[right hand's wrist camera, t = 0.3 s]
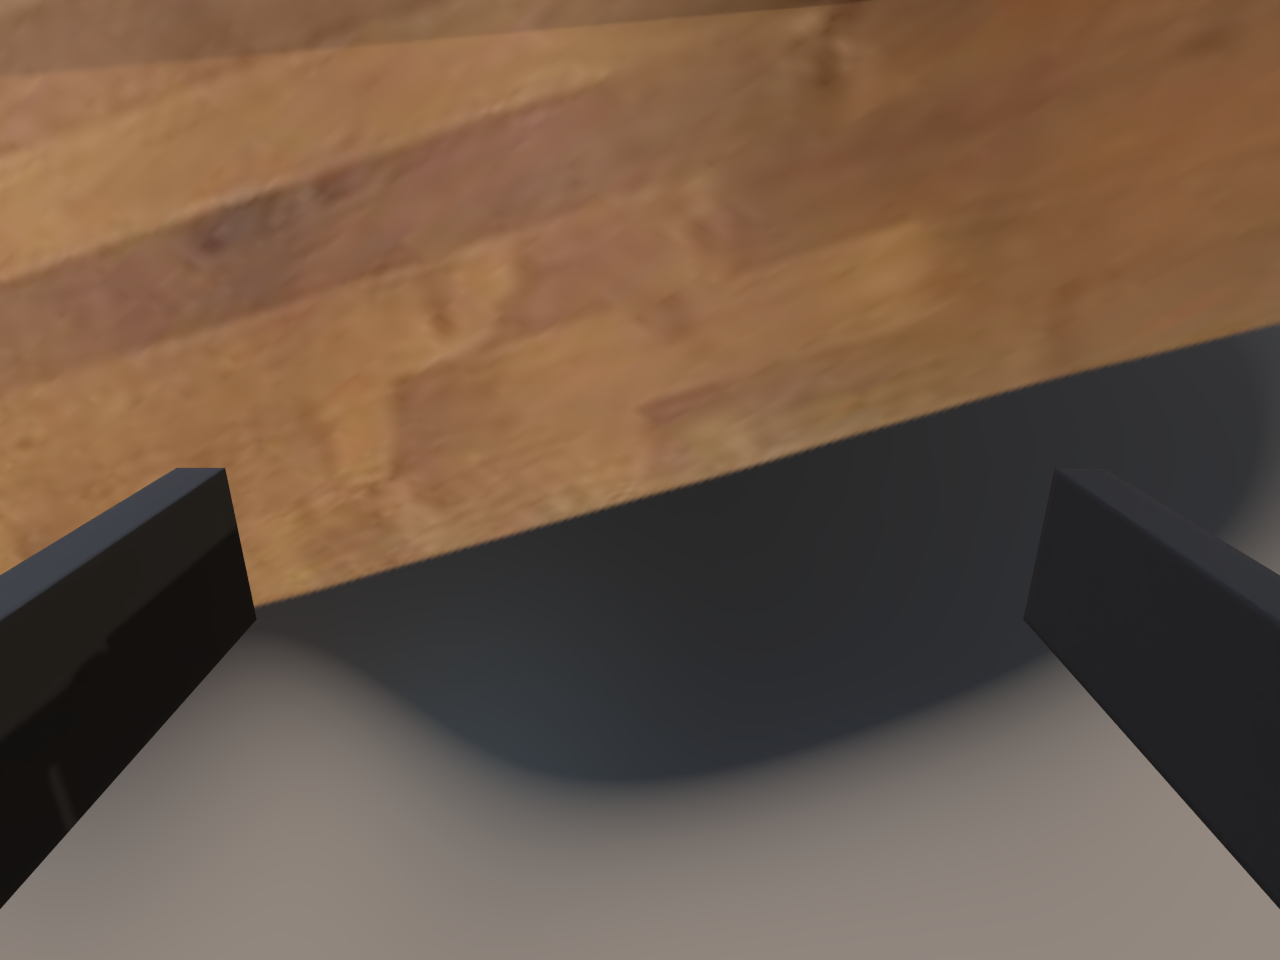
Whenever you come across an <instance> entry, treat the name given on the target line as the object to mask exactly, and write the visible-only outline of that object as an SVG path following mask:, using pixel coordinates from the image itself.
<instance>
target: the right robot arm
mask: <svg viewBox="0 0 1280 960" xmlns="http://www.w3.org/2000/svg"><path fill="white" fill-rule="evenodd" d="M255 620H256V615H255V610H254V605H253V600H252V596H251V591H250V586H249V581H248V576H247V571H246V567H245V562H244V557H243V552H242V547H241V543H240V538H239V533H238V528H237V523H236V518H235V514H234V509H233V504H232V499H231V494H230V490H229V485H228V480H227V475H226V470H225V468H176V469H174V470H173V471H171V472H169V473H168V474H166V475H164V476H163V477H161V478H159V479H158V480H156V481H155V482H153V483H151V484H150V485H148V486H146V487H145V488H143V489H141V490H140V491H138V492H137V493H135V494H133V495H132V496H130V497H128V498H127V499H125V500H123V501H122V502H120V503H118V504H117V505H115V506H114V507H112V508H110V509H109V510H107V511H105V512H104V513H102V514H100V515H99V516H97V517H95V518H94V519H92V520H91V521H89V522H87V523H86V524H84V525H82V526H81V527H79V528H77V529H76V530H74V531H72V532H71V533H69V534H68V535H66V536H64V537H63V538H61V539H59V540H58V541H56V542H54V543H53V544H51V545H50V546H48V547H46V548H45V549H43V550H41V551H40V552H38V553H36V554H35V555H33V556H31V557H30V558H28V559H27V560H25V561H23V562H22V563H20V564H18V565H17V566H15V567H13V568H12V569H10V570H8V571H7V572H5V573H4V574H2V575H0V909H1V908H2V906H3V905H4V904H5V903H6V902H7V901H8V900H9V898H10V897H11V896H12V895H13V894H14V893H15V892H16V891H17V889H18V888H19V887H20V886H21V885H22V884H23V883H24V882H25V880H26V879H27V878H28V877H29V876H30V875H31V874H32V873H33V871H34V870H35V869H36V868H37V867H38V866H39V865H40V863H41V862H42V861H43V860H44V859H45V858H46V857H47V855H48V854H49V853H50V852H51V851H52V850H53V849H54V848H55V846H56V845H57V844H58V843H59V842H60V841H61V840H62V839H63V837H64V836H65V835H66V834H67V833H68V832H69V831H70V830H71V828H72V827H73V826H74V825H75V824H76V823H77V822H78V821H79V819H80V818H81V817H82V816H83V815H84V814H85V813H86V811H87V810H88V809H89V808H90V807H91V806H92V805H93V803H94V802H95V801H96V800H97V799H98V798H99V797H100V796H101V795H102V793H103V792H104V791H105V790H106V789H107V788H108V787H109V785H110V784H111V783H112V782H113V781H114V780H115V779H116V778H117V776H118V775H119V774H120V773H121V772H122V771H123V770H124V768H125V767H126V766H127V765H128V764H129V763H130V762H131V761H132V759H133V758H134V757H135V756H136V755H137V754H138V753H139V752H140V750H141V749H142V748H143V747H144V746H145V745H146V744H147V743H148V741H149V740H150V739H151V738H152V737H153V736H154V735H155V733H156V732H157V731H158V730H159V729H160V728H161V727H162V725H163V724H164V723H165V722H166V721H167V720H168V719H169V718H170V717H171V715H172V714H173V713H174V712H175V711H176V710H177V708H178V707H179V706H180V705H181V704H182V703H183V702H184V701H185V700H186V698H187V697H188V696H189V695H190V694H191V693H192V692H193V690H194V689H195V688H196V687H197V686H198V685H199V684H200V683H201V681H202V680H203V679H204V678H205V677H206V676H207V675H208V674H209V672H210V671H211V670H212V669H213V668H214V667H215V666H216V665H217V663H218V662H219V661H220V660H221V659H222V658H223V657H224V655H225V654H226V653H227V652H228V651H229V650H230V649H231V648H232V646H233V645H234V644H235V643H236V642H237V641H238V640H239V639H240V637H241V636H242V635H243V634H244V633H245V632H246V631H247V629H248V628H249V627H250V626H251V625H252V624H253V623H254V622H255ZM1024 620H1025V622H1026V623H1027V624H1028V625H1029V626H1030V627H1031V628H1032V629H1033V631H1034V632H1035V633H1036V634H1037V635H1038V636H1039V637H1040V639H1041V640H1042V641H1043V642H1044V643H1045V644H1046V645H1047V646H1048V648H1049V649H1050V650H1051V651H1052V652H1053V653H1054V654H1055V655H1056V657H1057V658H1058V659H1059V660H1060V661H1061V662H1062V663H1063V665H1064V666H1065V667H1066V668H1067V669H1068V670H1069V671H1070V672H1071V674H1072V675H1073V676H1074V677H1075V678H1076V679H1077V680H1078V681H1079V682H1080V684H1081V685H1082V686H1083V687H1084V688H1085V689H1086V691H1087V692H1088V693H1089V694H1090V695H1091V696H1092V697H1093V698H1094V700H1095V701H1096V702H1097V703H1098V704H1099V705H1100V706H1101V707H1102V709H1103V710H1104V711H1105V712H1106V713H1107V714H1108V715H1109V717H1110V718H1111V719H1112V720H1113V721H1114V722H1115V723H1116V724H1117V726H1118V727H1119V728H1120V729H1121V730H1122V731H1123V732H1124V733H1125V735H1126V736H1127V737H1128V738H1129V739H1130V740H1131V741H1132V742H1133V744H1134V745H1135V746H1136V747H1137V748H1138V749H1139V750H1140V752H1141V753H1142V754H1143V755H1144V756H1145V757H1146V758H1147V759H1148V761H1149V762H1150V763H1151V764H1152V765H1153V766H1154V767H1155V769H1156V770H1157V771H1158V772H1159V773H1160V774H1161V775H1162V776H1163V778H1164V779H1165V780H1166V781H1167V782H1168V783H1169V784H1170V785H1171V787H1172V788H1173V789H1174V790H1175V791H1176V792H1177V793H1178V795H1179V796H1180V797H1181V798H1182V799H1183V800H1184V801H1185V802H1186V804H1187V805H1188V806H1189V807H1190V808H1191V809H1192V810H1193V811H1194V813H1195V814H1196V815H1197V816H1198V817H1199V818H1200V819H1201V820H1202V822H1203V823H1204V824H1205V825H1206V826H1207V827H1208V828H1209V830H1210V831H1211V832H1212V833H1213V834H1214V835H1215V836H1216V837H1217V839H1218V840H1219V841H1220V842H1221V843H1222V844H1223V845H1224V847H1225V848H1226V849H1227V850H1228V851H1229V852H1230V853H1231V854H1232V856H1233V857H1234V858H1235V859H1236V860H1237V861H1238V862H1239V863H1240V865H1241V866H1242V867H1243V868H1244V869H1245V870H1246V871H1247V873H1248V874H1249V875H1250V876H1251V877H1252V878H1253V879H1254V880H1255V882H1256V883H1257V884H1258V885H1259V886H1260V887H1261V888H1262V889H1263V891H1264V892H1265V893H1266V894H1267V895H1268V896H1269V897H1270V898H1271V900H1272V901H1273V902H1274V903H1275V904H1276V905H1277V906H1278V908H1279V909H1280V575H1278V574H1276V573H1275V572H1273V571H1272V570H1270V569H1268V568H1267V567H1265V566H1263V565H1262V564H1260V563H1258V562H1257V561H1255V560H1253V559H1252V558H1250V557H1249V556H1247V555H1245V554H1244V553H1242V552H1240V551H1239V550H1237V549H1235V548H1234V547H1232V546H1230V545H1229V544H1227V543H1226V542H1224V541H1222V540H1221V539H1219V538H1217V537H1216V536H1214V535H1212V534H1211V533H1209V532H1208V531H1206V530H1204V529H1202V528H1201V527H1199V526H1198V525H1196V524H1194V523H1193V522H1191V521H1189V520H1188V519H1186V518H1185V517H1183V516H1181V515H1180V514H1178V513H1176V512H1175V511H1173V510H1171V509H1170V508H1168V507H1166V506H1165V505H1163V504H1162V503H1160V502H1158V501H1157V500H1155V499H1153V498H1152V497H1150V496H1148V495H1147V494H1145V493H1143V492H1142V491H1140V490H1139V489H1137V488H1135V487H1134V486H1132V485H1130V484H1129V483H1127V482H1125V481H1124V480H1122V479H1120V478H1119V477H1117V476H1116V475H1114V474H1112V473H1111V472H1109V471H1107V470H1106V469H1104V468H1055V470H1054V475H1053V480H1052V485H1051V490H1050V494H1049V499H1048V504H1047V509H1046V514H1045V518H1044V523H1043V528H1042V533H1041V538H1040V543H1039V548H1038V552H1037V557H1036V562H1035V567H1034V571H1033V576H1032V581H1031V586H1030V591H1029V596H1028V600H1027V605H1026V610H1025V615H1024Z"/></svg>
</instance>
